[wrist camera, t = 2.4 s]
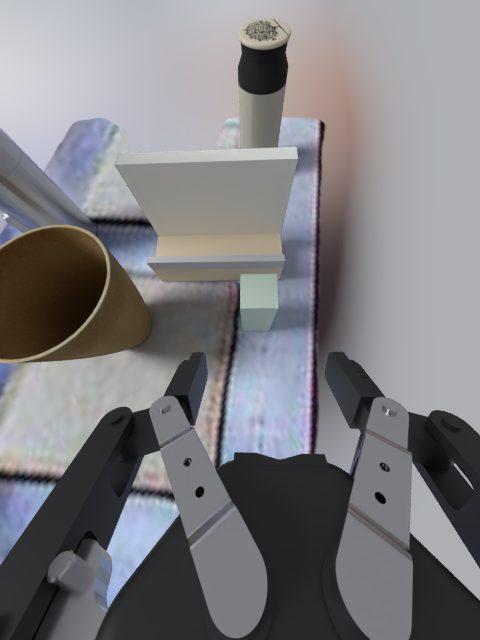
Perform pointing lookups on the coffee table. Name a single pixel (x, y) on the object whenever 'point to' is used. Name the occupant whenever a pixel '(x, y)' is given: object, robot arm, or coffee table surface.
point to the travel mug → (262, 81)
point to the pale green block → (258, 301)
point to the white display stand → (213, 209)
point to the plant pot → (66, 298)
